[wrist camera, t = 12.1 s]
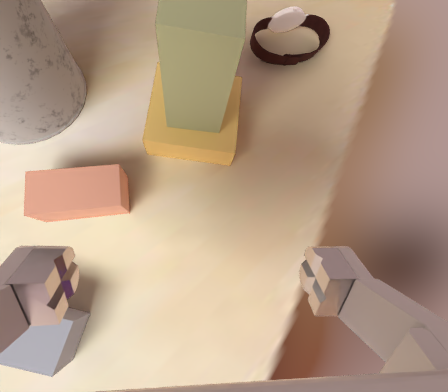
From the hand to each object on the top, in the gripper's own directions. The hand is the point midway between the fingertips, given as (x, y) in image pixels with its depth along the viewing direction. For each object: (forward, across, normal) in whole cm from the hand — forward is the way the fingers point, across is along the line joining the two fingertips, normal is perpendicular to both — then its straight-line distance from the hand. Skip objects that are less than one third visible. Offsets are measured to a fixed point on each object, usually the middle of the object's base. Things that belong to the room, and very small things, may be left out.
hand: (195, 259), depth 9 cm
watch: (+23, -9, -6) cm, 26 cm away
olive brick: (+15, 0, -2) cm, 15 cm away
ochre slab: (+17, 0, 0) cm, 17 cm away
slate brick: (+5, +10, +11) cm, 16 cm away
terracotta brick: (+12, +8, +5) cm, 15 cm away
